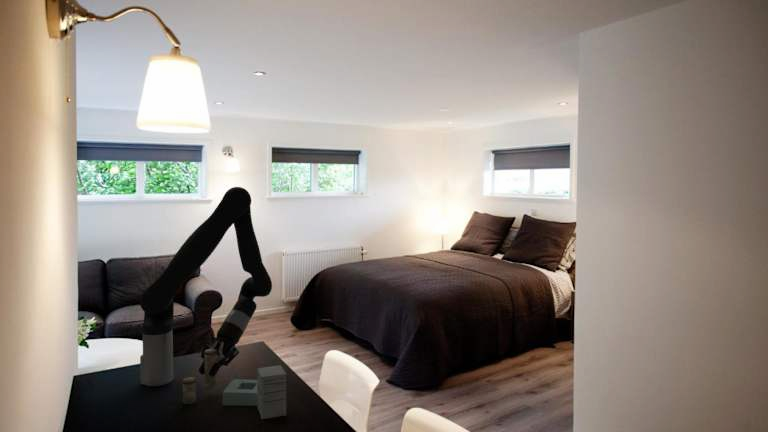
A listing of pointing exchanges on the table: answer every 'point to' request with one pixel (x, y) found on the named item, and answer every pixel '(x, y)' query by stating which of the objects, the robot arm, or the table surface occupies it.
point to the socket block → (241, 393)
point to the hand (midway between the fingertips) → (205, 374)
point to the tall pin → (209, 361)
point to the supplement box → (271, 391)
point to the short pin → (189, 390)
